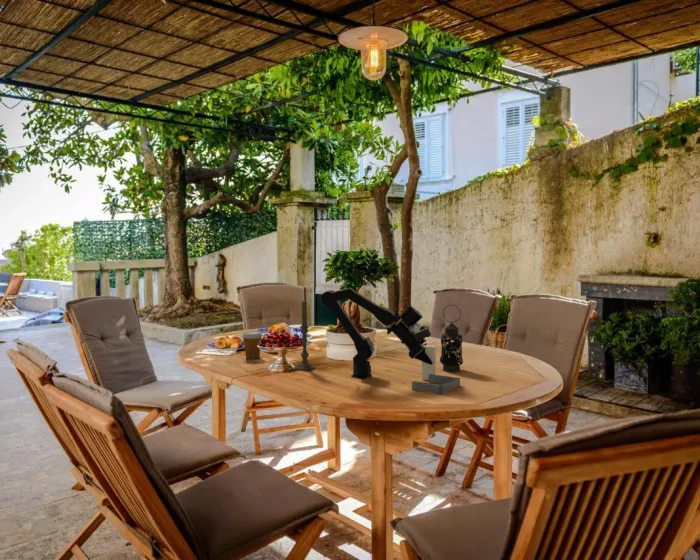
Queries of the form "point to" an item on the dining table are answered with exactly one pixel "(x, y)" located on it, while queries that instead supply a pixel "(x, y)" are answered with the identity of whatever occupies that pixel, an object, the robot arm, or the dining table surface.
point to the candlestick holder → (304, 341)
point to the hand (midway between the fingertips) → (432, 362)
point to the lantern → (451, 347)
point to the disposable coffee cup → (252, 344)
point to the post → (429, 368)
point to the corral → (446, 382)
